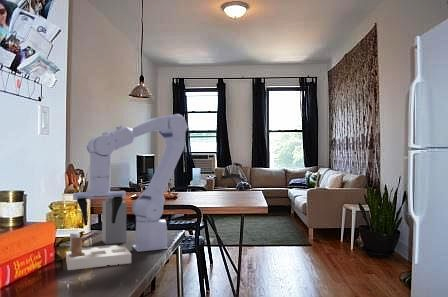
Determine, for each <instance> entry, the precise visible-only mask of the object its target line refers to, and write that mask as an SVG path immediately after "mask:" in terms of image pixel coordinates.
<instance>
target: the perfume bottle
mask: <svg viewBox="0 0 448 297" xmlns="http://www.w3.org/2000/svg"><path fill="white" fill-rule="evenodd" d="M110 191H121V188H116V187H115V188H110ZM104 197H109V196H104ZM122 199H123V201H122V203H121V205H120V207H119V210H118V212H117V216H116V220H115V223H112V198H106V199H105V200H104V201H102V202H101V206H102V207H101V208H102V210H101V211H102V212H101V213H102V214H101V215H102V216H101V218H102V219H101V220H102V221H101V225H102V226H101V228H102V229H101V233H102V234H101V241H102V243H104V244H105V245H116V244H122V243H127V202H126V201H125V200H124V198H122Z"/></svg>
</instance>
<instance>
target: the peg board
mask: <svg viewBox="0 0 448 297" xmlns="http://www.w3.org/2000/svg"><path fill="white" fill-rule="evenodd" d="M65 258H66V259H65V262H66V268H67V271H75V270H81V269H91V268H98V267H108V266H107V265H110V266H118V264H119V265H126V264H132V253H131V252H130V251H129V249H128V248H127V247H126V246H125V245H124V246H123V245H121V246H119V247H110V248H100V249H89V250H82V256H77V257H71V251H69V250H68V251H66V252H65Z"/></svg>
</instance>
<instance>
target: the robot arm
mask: <svg viewBox="0 0 448 297" xmlns="http://www.w3.org/2000/svg"><path fill="white" fill-rule="evenodd" d="M188 128H189V126H188V124H187V121H186V119H185V117H184V115H182V114H180V113H175V114H171V115H162V116H158V117H153V118H150V119H148V120H146V121H144V122H141V123H139V124H137V125H135V126H132V127H128V126H126V125H118V126H116V128H115V129H113V130H110V131H108V132H107V131H104V132H102V133H101V134H102V135H98V136H94V137H91V138H90V139H89V141H88V143H87V145H86V150H87V152H88V153H89V191H85V192H73V193H72V200H73V201H76V202H77V204H78V207H79V209H80V210H81V214H82V218H83V225H84V226H88V200H102V199H104V200H106V198H112V223H115V220H116V216H117V212H118V210H119V207H120V205H121V203H122V201H124V199H126V198H127V197H126V195H127V192H126V191H125V190H120V191H110V189H111V154H112V153H113V152H114V151H116V150H119V149H121V148H124V147H127V146H129V145H131V144H133V142H134V140H135V138H137V137H141V136H142V135H145V134H148V133H151V132H153V131H154V132H158V133H159V135H160V136H161V137H162V140H164V142H165V143H166V147H165V150H164V152H163V154H162V157H161V158H160V160H159V163H158V165H157V167H156V169H155V171H154V173H153V176H152V178H151V179H150V182H149V184H148V186H147V188H146V189H144V190H143V191H142V192H141V193H140V195H139V197H138V198H137V199H136V200H134V202H133V204H132V206H131V207H132V208H131V209H132V213H133V215H135V244H132V248H133V249H134V250H135V251H136V252H138V253H139V252H148V251H158V250H168V226H167V221H166V219H163V218H162V216H163V212H164V205H165V202H166V197H165V196H164V194H165V190H166V189H167V186H168V184H169V182H170V180H171V178H172V176H173V173H174V171H175V169H176V167H177V164H178V162H179V160H180V158H181V155H182V154H183V151H184V149H185V145H186V133H187V130H188ZM105 196H109V197H105ZM122 198H123V199H122ZM161 218H162V219H161Z"/></svg>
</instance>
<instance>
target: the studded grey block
mask: <svg viewBox="0 0 448 297" xmlns="http://www.w3.org/2000/svg"><path fill="white" fill-rule="evenodd" d="M80 236H81V233H80V232H71V233H70V234H69V248H68V251H71V238H74V237H80ZM110 247H120V246H119V245H118V244H107V245H98V246H88V247H86V246H85V247H82V250H89V249H100V248H110Z"/></svg>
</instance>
